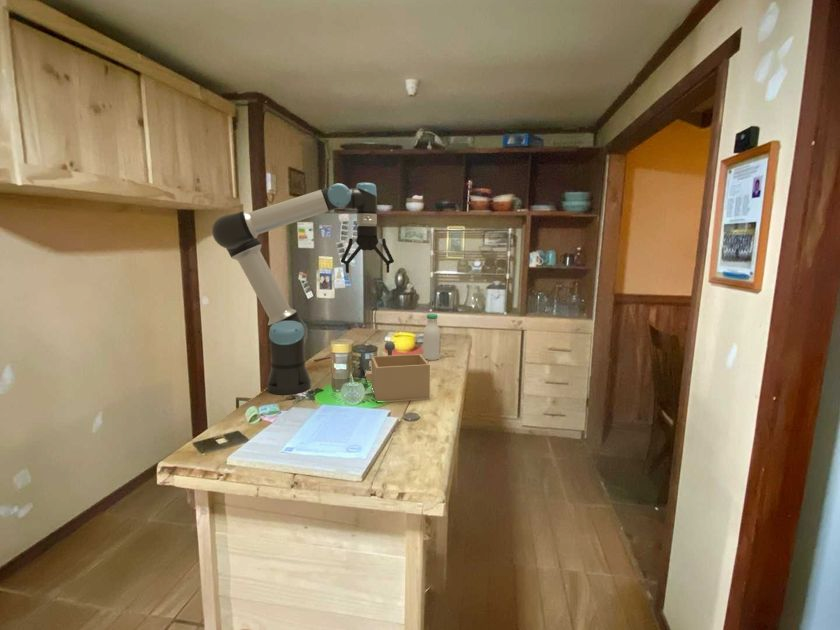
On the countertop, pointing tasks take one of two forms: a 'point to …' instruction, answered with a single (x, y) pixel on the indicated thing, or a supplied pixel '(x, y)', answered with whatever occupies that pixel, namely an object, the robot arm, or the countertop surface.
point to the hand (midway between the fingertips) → (367, 281)
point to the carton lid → (389, 347)
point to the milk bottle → (431, 339)
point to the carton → (400, 377)
